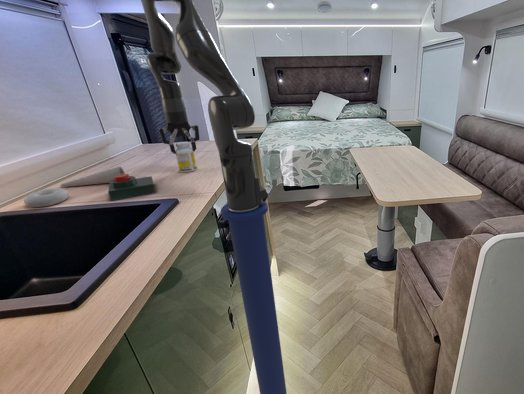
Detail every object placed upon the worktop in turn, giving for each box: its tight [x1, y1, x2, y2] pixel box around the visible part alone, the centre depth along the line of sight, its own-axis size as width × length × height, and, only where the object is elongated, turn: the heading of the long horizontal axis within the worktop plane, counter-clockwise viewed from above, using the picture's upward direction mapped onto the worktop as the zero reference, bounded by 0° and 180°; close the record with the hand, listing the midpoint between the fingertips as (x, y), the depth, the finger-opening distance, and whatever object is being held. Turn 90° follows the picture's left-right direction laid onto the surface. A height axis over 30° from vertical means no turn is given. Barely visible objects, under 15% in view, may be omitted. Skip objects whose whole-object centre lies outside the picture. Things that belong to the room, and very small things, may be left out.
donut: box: [23, 187, 69, 208], centre depth 90 cm, size 10×4×10 cm
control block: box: [107, 175, 156, 202], centre depth 98 cm, size 12×10×5 cm
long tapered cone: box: [59, 165, 126, 188], centre depth 104 cm, size 6×6×19 cm
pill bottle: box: [175, 141, 198, 173], centre depth 119 cm, size 6×6×12 cm
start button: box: [114, 173, 130, 182], centre depth 96 cm, size 4×4×2 cm
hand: (184, 152), depth 119 cm, fingers closed on pill bottle, 6 cm apart
